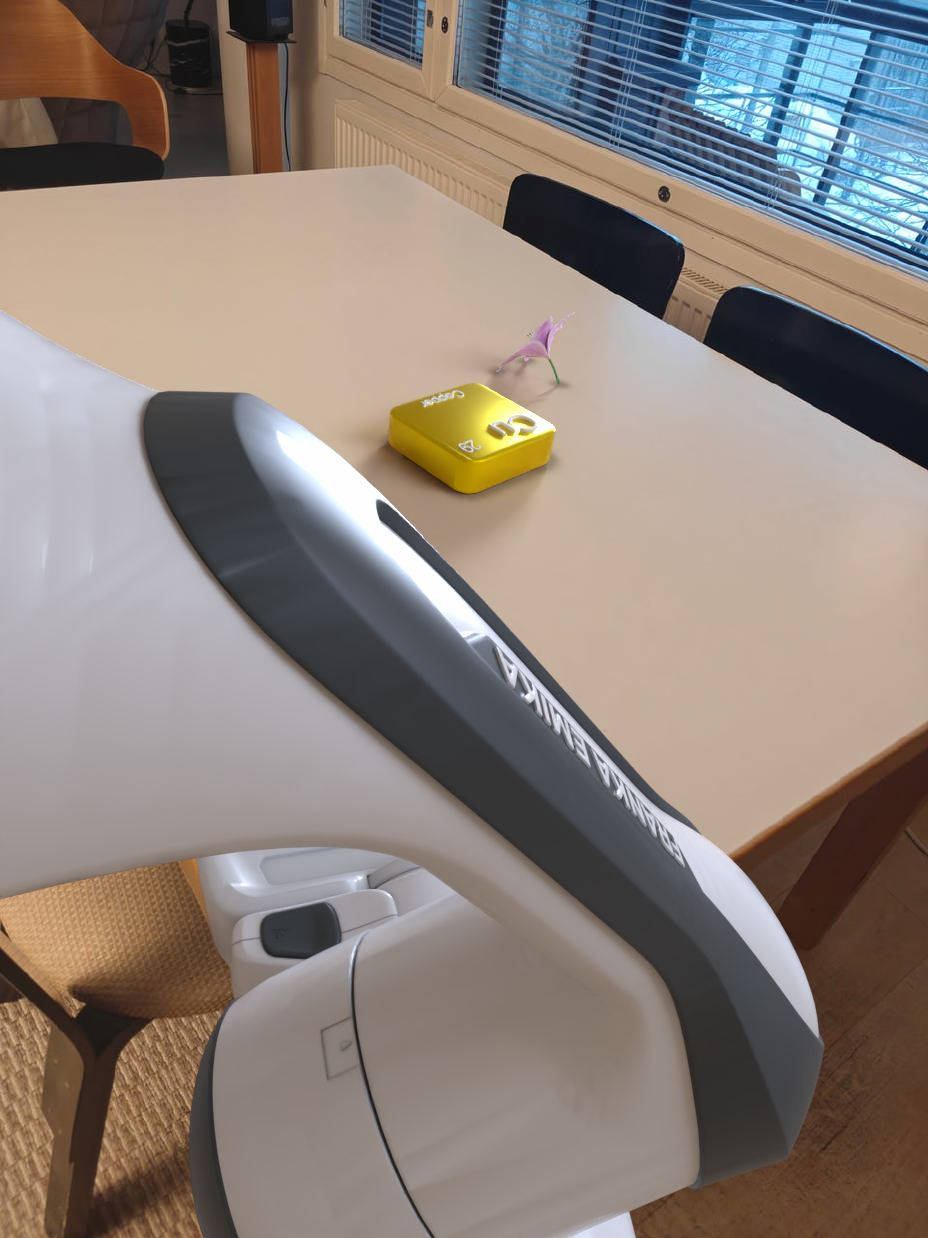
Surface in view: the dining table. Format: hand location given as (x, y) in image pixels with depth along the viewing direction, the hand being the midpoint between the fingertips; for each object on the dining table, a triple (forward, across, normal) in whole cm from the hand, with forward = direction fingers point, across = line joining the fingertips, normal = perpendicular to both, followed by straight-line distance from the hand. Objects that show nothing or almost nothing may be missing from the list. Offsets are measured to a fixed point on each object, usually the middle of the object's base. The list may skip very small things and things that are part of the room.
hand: (379, 723), depth 48 cm
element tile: (+55, -22, +16) cm, 61 cm away
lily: (+75, -37, +16) cm, 85 cm away
